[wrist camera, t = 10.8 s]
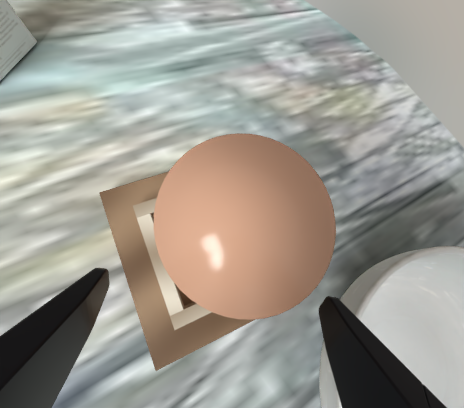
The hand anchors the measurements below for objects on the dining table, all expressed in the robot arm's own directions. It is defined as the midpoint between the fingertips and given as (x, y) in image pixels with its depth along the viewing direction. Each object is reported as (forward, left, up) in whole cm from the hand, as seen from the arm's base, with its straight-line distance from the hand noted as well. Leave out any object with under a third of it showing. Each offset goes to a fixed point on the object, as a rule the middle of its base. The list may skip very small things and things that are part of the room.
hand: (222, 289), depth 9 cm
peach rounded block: (+2, -1, -9) cm, 10 cm away
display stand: (+2, -1, -11) cm, 11 cm away
